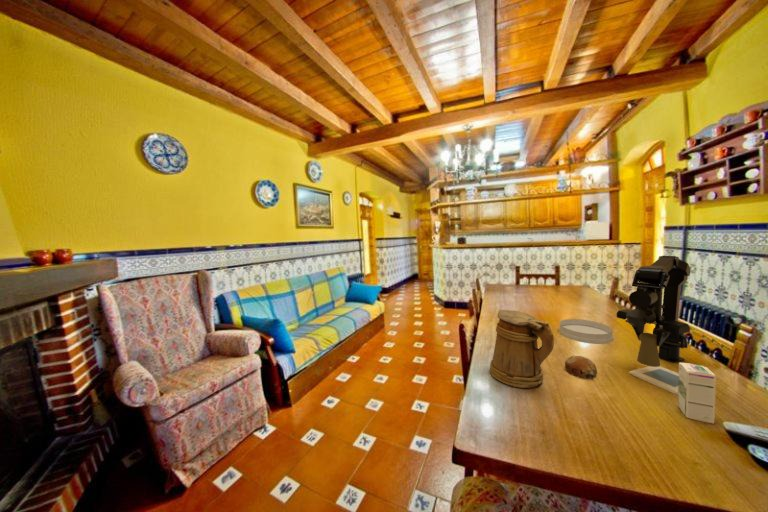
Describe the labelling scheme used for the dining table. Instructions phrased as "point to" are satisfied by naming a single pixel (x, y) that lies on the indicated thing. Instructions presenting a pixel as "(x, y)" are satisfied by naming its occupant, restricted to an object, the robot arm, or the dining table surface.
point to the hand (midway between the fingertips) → (649, 343)
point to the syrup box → (696, 392)
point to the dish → (586, 331)
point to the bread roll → (581, 367)
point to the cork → (648, 350)
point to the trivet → (659, 377)
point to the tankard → (520, 349)
